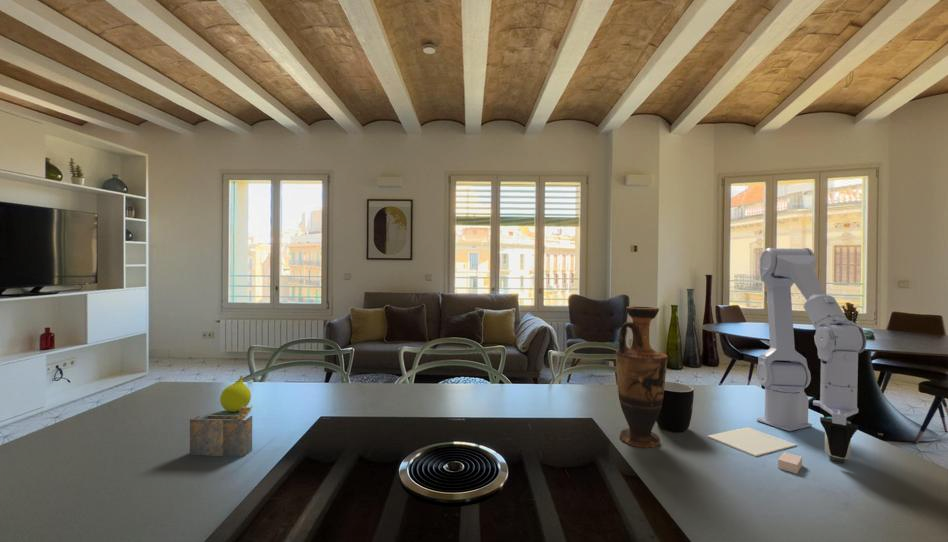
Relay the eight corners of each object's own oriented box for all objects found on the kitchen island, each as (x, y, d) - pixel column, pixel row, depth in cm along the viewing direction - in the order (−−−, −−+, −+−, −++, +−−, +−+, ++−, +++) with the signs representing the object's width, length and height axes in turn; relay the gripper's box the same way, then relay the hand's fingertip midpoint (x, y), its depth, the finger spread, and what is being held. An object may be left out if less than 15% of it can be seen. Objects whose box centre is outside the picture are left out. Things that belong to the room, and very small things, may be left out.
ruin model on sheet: (253, 451, 89) (253, 405, 89) (245, 458, 86) (245, 410, 86) (199, 450, 89) (200, 404, 89) (189, 457, 86) (189, 409, 86)
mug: (698, 436, 98) (699, 392, 98) (658, 433, 100) (658, 390, 100) (681, 418, 110) (682, 379, 110) (645, 416, 112) (646, 377, 112)
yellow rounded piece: (252, 405, 116) (252, 369, 116) (249, 414, 110) (249, 375, 110) (222, 408, 114) (223, 371, 114) (217, 417, 107) (217, 377, 107)
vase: (666, 436, 98) (668, 306, 98) (665, 454, 88) (668, 310, 88) (617, 428, 103) (618, 304, 103) (611, 444, 93) (613, 307, 93)
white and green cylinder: (831, 454, 89) (832, 415, 89) (854, 462, 86) (855, 422, 86) (820, 457, 88) (820, 418, 88) (843, 466, 84) (844, 425, 84)
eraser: (783, 461, 86) (783, 451, 86) (802, 466, 84) (802, 456, 84) (778, 469, 83) (778, 459, 83) (797, 475, 81) (797, 464, 81)
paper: (747, 428, 104) (747, 427, 104) (796, 445, 94) (796, 444, 94) (707, 436, 98) (707, 435, 98) (755, 456, 88) (755, 455, 88)
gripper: (813, 373, 95) (812, 434, 95) (812, 387, 83) (811, 456, 84) (856, 379, 90) (855, 442, 90) (861, 394, 79) (860, 467, 79)
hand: (837, 449), depth 87 cm, fingers open, 7 cm apart
